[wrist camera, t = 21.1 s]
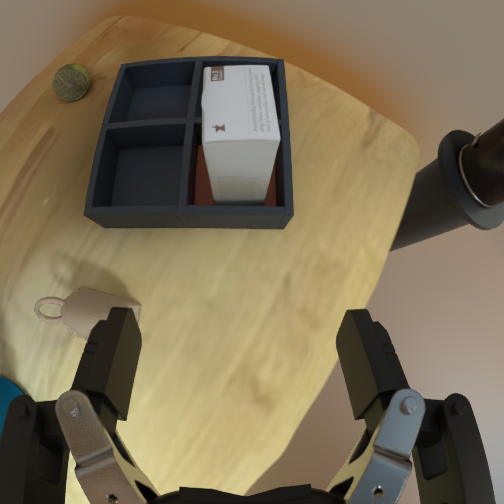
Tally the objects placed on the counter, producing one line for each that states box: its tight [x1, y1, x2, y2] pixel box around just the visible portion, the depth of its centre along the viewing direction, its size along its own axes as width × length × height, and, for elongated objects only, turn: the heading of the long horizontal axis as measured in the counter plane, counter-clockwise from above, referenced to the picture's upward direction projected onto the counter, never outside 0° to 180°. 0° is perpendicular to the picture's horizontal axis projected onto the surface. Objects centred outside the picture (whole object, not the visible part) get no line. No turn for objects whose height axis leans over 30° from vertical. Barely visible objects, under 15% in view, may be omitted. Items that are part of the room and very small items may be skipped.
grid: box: [84, 56, 294, 229], centre depth 25 cm, size 17×17×5 cm
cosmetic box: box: [201, 65, 281, 206], centre depth 21 cm, size 6×4×12 cm
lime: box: [53, 64, 89, 102], centre depth 26 cm, size 4×5×5 cm
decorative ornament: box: [34, 287, 141, 340], centre depth 22 cm, size 4×8×5 cm, turn 76°
